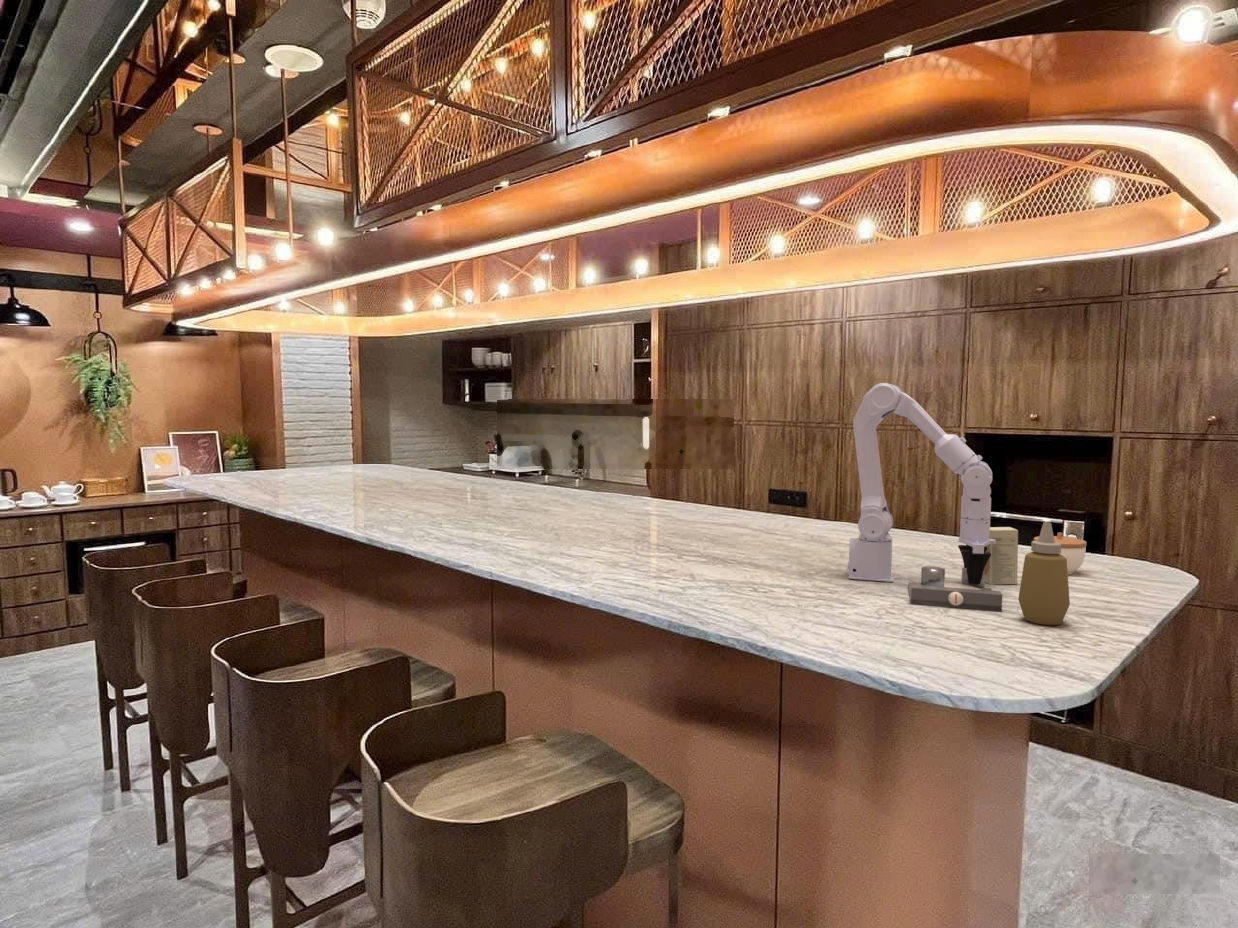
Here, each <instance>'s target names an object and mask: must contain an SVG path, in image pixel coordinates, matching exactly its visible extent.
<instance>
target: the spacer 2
mask: <svg viewBox="0 0 1238 928" xmlns="http://www.w3.org/2000/svg"><path fill="white" fill-rule="evenodd" d="M984 577H985V570H984V571H983V575H982V579H981V582H980V584H969V582H968V577H967V569H966V567H964V566H963V567H962V568H961V583H960V584H963V585H969V586H973V587H979V588H985V581H984Z"/></svg>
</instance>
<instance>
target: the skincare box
mask: <svg viewBox="0 0 1238 928" xmlns="http://www.w3.org/2000/svg"><path fill="white" fill-rule="evenodd" d="M990 539H995V540H996V543H995V544H992V543H991V544H989V545H987V546H986V547H987V550H986V552H988V553H991V556H990V558H989V560H988V561H987V563H986V565H985V568H984V570H985V577H984V583H987V584H988V585H1017V584H1018V565H1019V564H1018V562H1019V561H1018V560H1019V559H1018V557H1019V556H1018V555H1019V553H1018V552H1019V545H1018V544H1019V530H1018V529H1016V528H1013V527H1011V526H996V527H995V526H994V527H992V526H990Z"/></svg>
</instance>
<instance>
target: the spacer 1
mask: <svg viewBox="0 0 1238 928" xmlns="http://www.w3.org/2000/svg"><path fill="white" fill-rule="evenodd" d="M920 573H921V575H920V576H921V577H920V583H921V585H925V586H938V587H944V582H945V579H946V577H945V576H946V575H945V573H946V570H945V568H943V567H939V566H932V565H931V566H930V565H929V566H928V565H927V566H922V567H921V572H920Z"/></svg>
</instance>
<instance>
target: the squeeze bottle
mask: <svg viewBox="0 0 1238 928" xmlns="http://www.w3.org/2000/svg"><path fill="white" fill-rule="evenodd" d="M1042 523H1043V524H1042V526H1041V529H1040V534H1039V539H1038V541H1034V540H1032V541H1031V542H1030V543H1031V544H1030V546H1031V547H1030V548H1031V549H1030V552H1028V553H1026V554H1025V555H1024V560H1023V567H1022V573H1021V579H1020V580H1021V581H1020V586H1019V592H1018V599H1017V600H1018V603H1019V606H1020V609H1021V613H1022V616H1023V619H1025V620H1026V621H1028V622H1031V623H1034V624H1037V625H1045V626H1046V625H1047V626H1057V625H1061V624H1062V623H1063V621H1064V619H1065V617H1066V614H1067V613H1068V611H1069V608H1070V605H1071V601H1070V586H1069V575H1068V571H1067V559H1066V558H1065V557H1064V556H1062V555H1060V554H1059V553H1061V544H1060V543H1057V542H1055V540H1054V536H1055V535H1054V531H1053V526H1052V523H1051V522H1049V521H1048V522H1047V521H1046V522H1045V521H1044V522H1042Z"/></svg>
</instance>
